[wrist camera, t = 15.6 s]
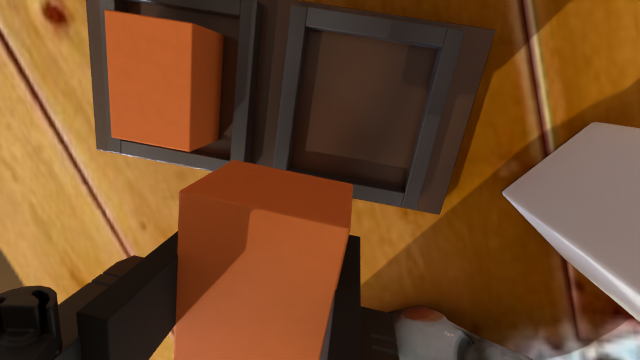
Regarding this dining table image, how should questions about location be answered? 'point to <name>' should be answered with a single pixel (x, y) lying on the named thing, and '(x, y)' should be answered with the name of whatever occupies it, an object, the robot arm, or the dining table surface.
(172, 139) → the pad
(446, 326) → the lucky cat figurine
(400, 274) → the dining table surface
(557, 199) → the milk carton
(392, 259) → the dining table surface
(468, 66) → the dark grey divided tray
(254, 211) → the pad
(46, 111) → the dining table surface
